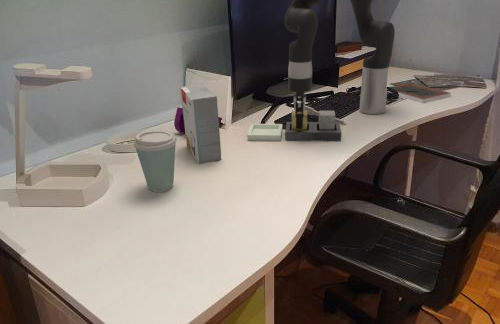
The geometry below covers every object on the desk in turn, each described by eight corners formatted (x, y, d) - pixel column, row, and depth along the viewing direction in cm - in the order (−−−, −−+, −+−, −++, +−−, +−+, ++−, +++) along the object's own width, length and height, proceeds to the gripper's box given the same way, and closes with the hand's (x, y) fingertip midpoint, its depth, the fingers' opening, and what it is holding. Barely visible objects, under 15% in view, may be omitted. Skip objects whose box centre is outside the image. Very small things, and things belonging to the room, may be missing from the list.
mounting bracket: (205, 137, 159) (172, 130, 144) (210, 115, 158) (177, 107, 143) (224, 142, 153) (191, 135, 139) (229, 119, 153) (197, 111, 138)
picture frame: (383, 93, 186) (422, 104, 168) (384, 87, 184) (423, 98, 167) (409, 87, 192) (450, 98, 175) (410, 82, 191) (451, 92, 174)
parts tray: (282, 129, 146) (282, 124, 145) (280, 141, 136) (280, 135, 135) (251, 129, 148) (251, 123, 147) (247, 140, 138) (247, 135, 137)
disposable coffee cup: (165, 174, 117) (158, 124, 111) (190, 185, 110) (184, 132, 104) (133, 188, 110) (123, 135, 103) (158, 201, 103) (150, 145, 97)
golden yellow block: (306, 132, 142) (307, 110, 139) (306, 138, 138) (307, 115, 135) (292, 132, 143) (292, 110, 140) (291, 138, 138) (291, 115, 135)
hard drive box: (186, 146, 135) (179, 86, 127) (208, 142, 138) (203, 83, 129) (197, 164, 122) (191, 98, 114) (222, 160, 124) (218, 95, 116)
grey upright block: (333, 133, 141) (334, 110, 138) (334, 138, 137) (335, 115, 133) (318, 133, 142) (319, 110, 139) (318, 138, 137) (319, 115, 134)
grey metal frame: (338, 130, 143) (339, 122, 142) (340, 141, 134) (341, 132, 133) (286, 130, 146) (286, 121, 144) (285, 140, 137) (285, 132, 135)
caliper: (295, 116, 159) (295, 101, 156) (297, 116, 160) (297, 100, 157) (345, 125, 148) (346, 109, 145) (346, 124, 149) (348, 108, 146)
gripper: (312, 80, 125) (310, 133, 132) (311, 69, 138) (310, 118, 145) (287, 80, 126) (287, 133, 133) (289, 70, 139) (289, 118, 146)
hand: (299, 125), depth 139 cm, fingers closed on golden yellow block, 5 cm apart
